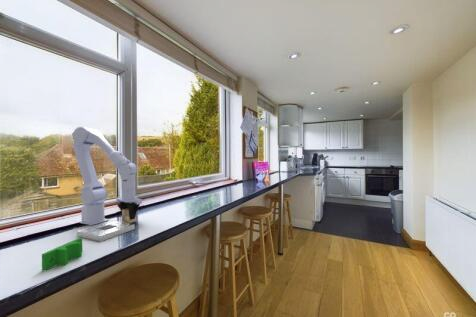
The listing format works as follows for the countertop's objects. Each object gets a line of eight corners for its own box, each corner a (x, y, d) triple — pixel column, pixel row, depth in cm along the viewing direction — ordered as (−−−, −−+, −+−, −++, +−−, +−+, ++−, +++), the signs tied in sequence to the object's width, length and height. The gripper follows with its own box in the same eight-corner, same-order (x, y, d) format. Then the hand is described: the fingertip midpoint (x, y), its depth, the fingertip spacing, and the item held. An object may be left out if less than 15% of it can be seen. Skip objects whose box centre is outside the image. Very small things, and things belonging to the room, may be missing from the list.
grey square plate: (77, 236, 79) (76, 231, 79) (112, 225, 92) (112, 220, 92) (100, 241, 73) (100, 236, 73) (134, 229, 86) (134, 224, 86)
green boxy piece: (54, 272, 54) (54, 254, 54) (42, 271, 55) (41, 254, 55) (90, 252, 65) (89, 237, 65) (79, 251, 66) (78, 237, 66)
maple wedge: (122, 222, 95) (122, 209, 95) (130, 220, 99) (129, 207, 99) (128, 223, 93) (128, 210, 93) (135, 221, 97) (135, 208, 97)
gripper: (146, 188, 97) (147, 217, 97) (125, 187, 103) (126, 214, 103) (133, 190, 90) (134, 222, 90) (111, 189, 96) (112, 218, 96)
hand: (129, 218), depth 96 cm, fingers closed on maple wedge, 4 cm apart
